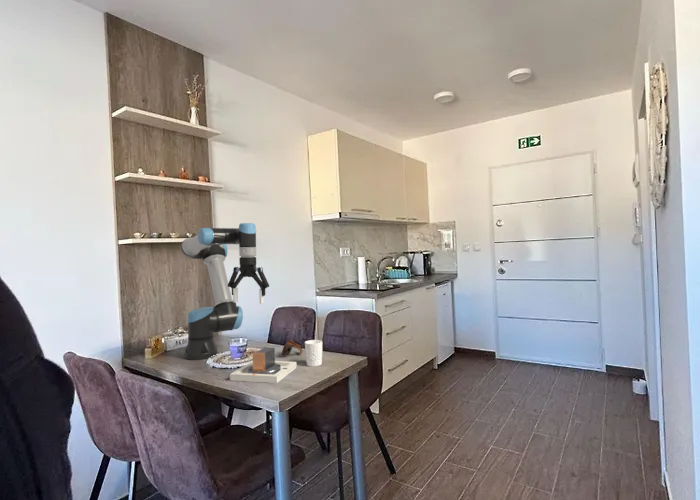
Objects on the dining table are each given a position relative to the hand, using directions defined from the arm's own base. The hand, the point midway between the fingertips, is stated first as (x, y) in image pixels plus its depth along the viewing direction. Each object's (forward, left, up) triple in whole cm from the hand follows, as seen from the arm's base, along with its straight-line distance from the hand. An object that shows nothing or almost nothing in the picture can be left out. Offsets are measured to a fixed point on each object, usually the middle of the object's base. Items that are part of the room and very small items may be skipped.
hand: (248, 302), depth 181 cm
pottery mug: (+15, +14, -28) cm, 34 cm away
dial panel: (+15, -16, -27) cm, 35 cm away
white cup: (+31, 0, -28) cm, 42 cm away
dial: (+15, -16, -26) cm, 34 cm away
